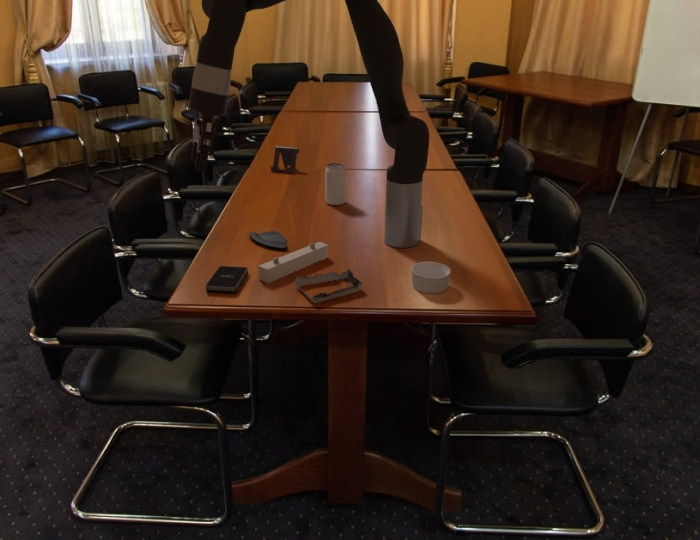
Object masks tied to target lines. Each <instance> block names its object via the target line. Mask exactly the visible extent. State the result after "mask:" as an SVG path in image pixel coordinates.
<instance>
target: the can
mask: <svg viewBox="0 0 700 540" xmlns="http://www.w3.org/2000/svg"><path fill="white" fill-rule="evenodd" d="M324 174H325V176H324V177H325V180H324V181H325V187H324V190H325V194H324V195H325V196H324V197H325V203H326V204H327V205H328V204H331V205H330V206H332V205H340V206H342V205H341V204H343V205H345V204H346V203H347V169H346V165H345V164H344V163H342V162H341V163H340V162H331V163H328V164H326V168H325V172H324ZM344 203H345V204H344Z"/></svg>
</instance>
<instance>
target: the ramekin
mask: <svg viewBox="0 0 700 540" xmlns="http://www.w3.org/2000/svg"><path fill="white" fill-rule="evenodd" d="M410 271H411V283H412V287H413V288H414V289H415V290H416V291H418V292H419V293H424V294H429V295H430V294H431V295H435V294H440V293H443V292H444V291H446V290H447V288H448V285H449V281H450V275H451V273H452V271H451V268H450V267H449V266H448V265H446V264H443V263H441V262H435V261H421V262H418V263H415V264H413V265H412V266H411V268H410Z"/></svg>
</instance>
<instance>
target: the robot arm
mask: <svg viewBox="0 0 700 540" xmlns="http://www.w3.org/2000/svg"><path fill="white" fill-rule="evenodd" d="M285 1H287V0H201V9H202V12H203V13H204V14H205V16H206V17H207V18H208V19H209V20H208V24H207V28H206V31H205V33H204V34H203V35H201V37H200V40H199V43H198V44H199V45H198V49H197V50H198V51H197V55H196V56H197V57H196V63H195V67H194V70H193V74H192V80H191V87H190V94H189V102H188V108H189V109H190V110H192V111H194V112H196V114H195V118H194V121H193V129H192V136H191V139H192V141H191V142H192V146H193V147H192V151H191V158H190V159H191V160H190V161H191V162H192V163H195V165H194V169H195V171H197V172H203V173H205V172H206V171H207V166H208V160H209V155H210V153H212V151H213V144H214V139H215V138H214V137H215V131H216V128H217V125H216V122H214V117H223V116H225V115H226V113H227V106H228V101H229V94H230V88H231V82H232V80H231V79H232V69H233V62H234V58H235V57H234V56H235V50H236V45H237V44H238V41H239V38H240V36H241V33H242V30H243V28H244V27H243V26H244V23H245V20H246V16H247V13H249V12H252V11H254V10H264V9H267V8H271V7H272V6H276V5H278V4H280V3H284V2H285ZM344 2H345V6H346V9H347V11H348V15H349V19H350V21H351V24H352V28H353V31H354V34H355V37H356V41H357V45H358V49H359V52H360V55H361V58H362V62H363V65H364V68H365V71H366V74H367V76H368V80H369V83H370V87H371V90H372V94H373V95H374V98H375V102H376V106H377V111H378V115H379V116H378V117H379V121H380V127H381V133H382V135H383V139H384V141H385V143H386V144H387V145H388V147H390V148H392V149H393V150H394V159H393V164H392V165H389V166H388V167H387V169H386V179H385V181H386V183H385V212H384V214H385V215H384V237H383V239H384V240H383V241H384V243H385V244H386V245H388V246H390V247H394V248H399V249H400V248H402V249H405V248H406V249H407V248H413V247H416V246H418V244H419V243H420V240H421V239H422V224H423V223H422V222H423V206H422V200H423V199H422V196H423V194H422V193H423V180H424V173H425V171H426V169H427V165H428V157H429V150H430V149H429V148H430V129H429V127H428V125H427V123H426V121H424V120H423V119H421V118H418V117H416V116H414V115H412V114H411V113H410V109H409V108H408V106H407V105H408V104H407V102H406V100H405V95H404V90H403V79H404V78H403V77H404V64H405V63H404V54H403V51H402V47H401V42H400V40H399V39H400V38H399V36H398V35H399V34H398V32H397V30H396V28H395V26H394V23H393V22H392V20H391V18H390V17H389V15H388V14H387V12H386V11H385V10H384V8H383V7H382V5H381V3H380V2H379V0H344Z"/></svg>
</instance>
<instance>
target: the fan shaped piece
mask: <svg viewBox="0 0 700 540" xmlns="http://www.w3.org/2000/svg"><path fill="white" fill-rule="evenodd" d="M248 235H249V236H248V237H249V239H250V240H251V241H252V243H254V244H256V245H258V246H260V247H262V248H265V249H268V250H273V251H278V252H285V251H288V248H289V245H288V244H287V242H288V240H287V239H286V237H285V236H284V235H282V233H280V232H278V231H276V230H270V231H263V232H259V233H256V232H255V231H251V232H248Z"/></svg>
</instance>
